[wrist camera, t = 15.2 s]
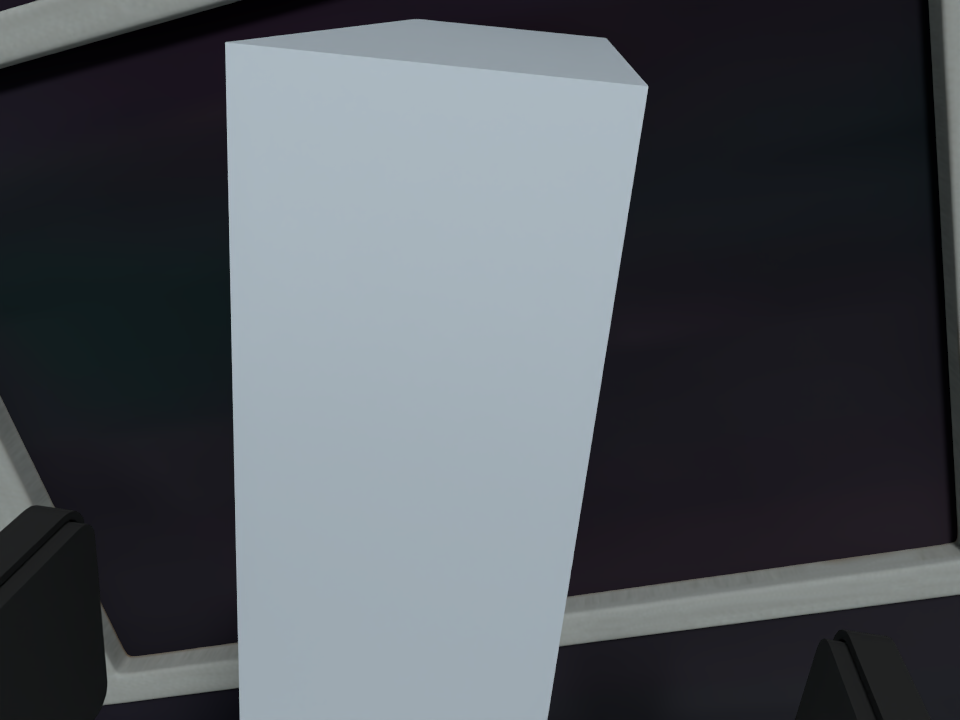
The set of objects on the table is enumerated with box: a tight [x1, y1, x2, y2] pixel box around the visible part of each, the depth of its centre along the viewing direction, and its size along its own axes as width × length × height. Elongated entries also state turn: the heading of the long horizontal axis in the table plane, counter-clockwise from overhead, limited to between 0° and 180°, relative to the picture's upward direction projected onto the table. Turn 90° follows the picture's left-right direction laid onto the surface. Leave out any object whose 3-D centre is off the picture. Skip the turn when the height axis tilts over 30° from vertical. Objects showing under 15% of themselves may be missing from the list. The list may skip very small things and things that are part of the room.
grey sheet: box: [225, 19, 648, 720], centre depth 16 cm, size 4×14×11 cm, turn 175°
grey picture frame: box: [0, 0, 960, 705], centre depth 22 cm, size 19×2×30 cm
